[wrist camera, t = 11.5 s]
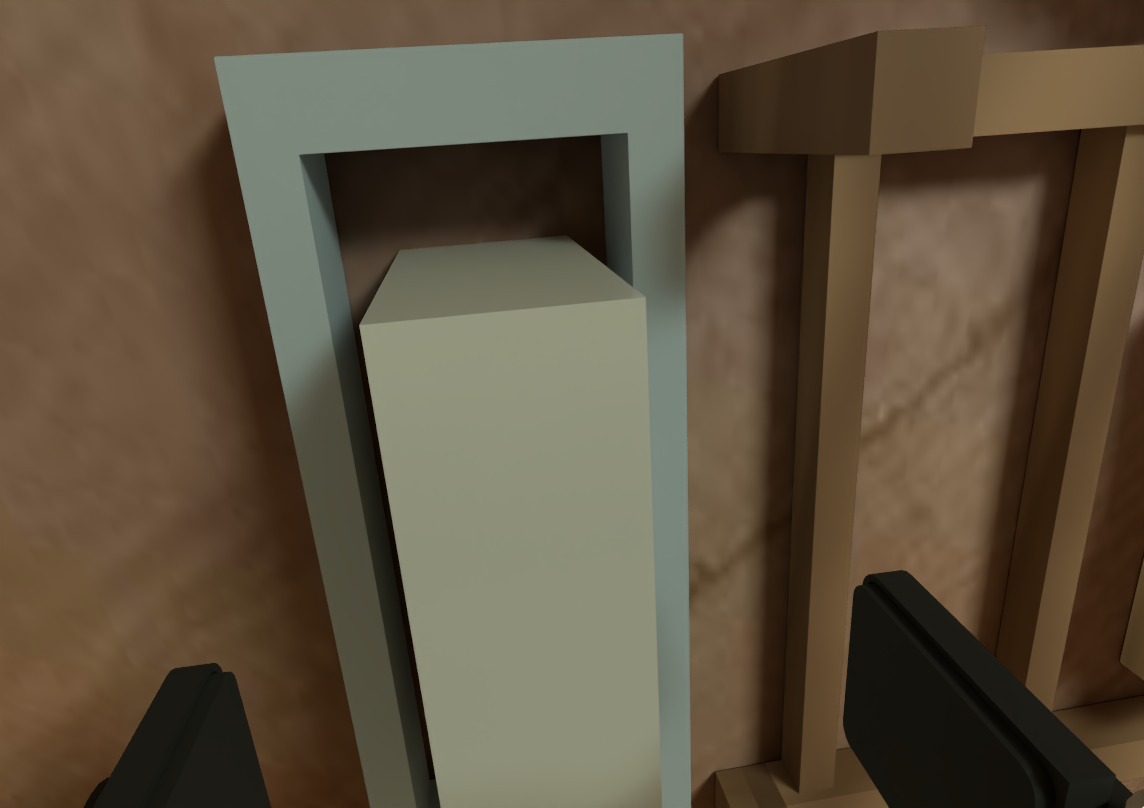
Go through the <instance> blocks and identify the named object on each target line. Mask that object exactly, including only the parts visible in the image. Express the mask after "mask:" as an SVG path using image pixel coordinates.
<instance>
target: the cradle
mask: <svg viewBox="0 0 1144 808" xmlns="http://www.w3.org/2000/svg"><path fill="white" fill-rule="evenodd" d="M214 60H215V65H216V70H217V75H218V80H219V84H220V89H221V94H222V99H223V104H224V108H225V113H226V118H227V123H228V128H229V132H230V137H231V142H232V147H233V152H234V156H235V161H236V166H237V171H238V176H239V180H240V185H241V190H242V195H243V200H244V204H245V209H246V214H247V219H248V224H249V228H250V233H251V238H252V243H253V248H254V252H255V257H256V262H257V267H258V272H259V276H260V281H261V286H262V291H263V296H264V300H265V305H266V310H267V315H268V320H269V324H270V329H271V334H272V339H273V344H274V348H275V353H276V358H277V363H278V368H279V372H280V377H281V382H282V387H283V392H284V396H285V401H286V406H287V411H288V416H289V420H290V425H291V430H292V435H293V440H294V444H295V449H296V454H297V459H298V464H299V468H300V473H301V478H302V483H303V488H304V492H305V497H306V502H307V507H308V512H309V516H310V521H311V526H312V531H313V536H314V540H315V545H316V550H317V555H318V560H319V564H320V569H321V574H322V579H323V583H324V588H325V593H326V598H327V603H328V607H329V612H330V617H331V622H332V627H333V631H334V636H335V641H336V646H337V651H338V655H339V660H340V665H341V670H342V675H343V679H344V684H345V689H346V694H347V699H348V703H349V708H350V713H351V718H352V723H353V727H354V732H355V737H356V742H357V747H358V751H359V756H360V761H361V766H362V771H363V775H364V780H365V785H366V790H367V795H368V799H369V804H370V808H441V806H440V800H439V794H438V788H437V782H436V779H432V780H430V779H429V773H428V767H427V761H426V755H425V749H424V743H423V737H422V731H421V725H420V719H419V713H418V707H417V701H416V696H415V690H414V684H413V678H412V672H411V666H410V660H409V654H408V648H407V642H406V636H405V630H404V624H403V619H402V613H401V607H400V601H399V595H398V589H397V583H396V577H395V571H394V565H393V559H392V553H391V547H390V541H389V536H388V530H387V524H386V518H385V512H384V506H383V500H382V494H381V488H380V482H379V476H378V470H377V464H376V459H375V453H374V447H373V441H372V435H371V429H370V423H369V417H368V411H367V405H366V399H365V393H364V387H363V381H362V376H361V370H360V364H359V358H358V352H357V346H356V340H355V334H354V328H353V322H352V316H351V310H350V304H349V299H348V293H347V287H346V281H345V275H344V269H343V263H342V257H341V251H340V245H339V239H338V233H337V227H336V221H335V216H334V210H333V204H332V198H331V192H330V186H329V180H328V174H327V168H326V162H325V156H324V153H338V152H353V151H368V150H383V149H398V148H413V147H428V146H443V145H458V144H473V143H488V142H503V141H518V140H533V139H548V138H563V137H578V136H593V135H601V154H602V175H603V196H604V218H605V239H606V261H607V267H608V268H609V269H610V270H611V271H613V272H614V273H615V274H617V275H618V276H619V277H620V278H622V279H623V280H624V281H626V282H627V283H628V284H629V285H631V286H632V287H633V288H634V289H636V290H637V291H638V292H640V293H641V294H642V295H643V296H645V297H646V323H647V354H648V385H649V416H650V447H651V478H652V509H653V539H654V570H655V601H656V632H657V663H658V694H659V725H660V756H661V787H662V808H691V756H690V660H689V563H688V467H687V371H686V274H685V178H684V82H683V33H679V34H659V35H639V36H619V37H599V38H579V39H560V40H540V41H520V42H500V43H480V44H460V45H440V46H420V47H400V48H380V49H360V50H340V51H321V52H301V53H281V54H261V55H241V56H221V57H214Z"/></svg>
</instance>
